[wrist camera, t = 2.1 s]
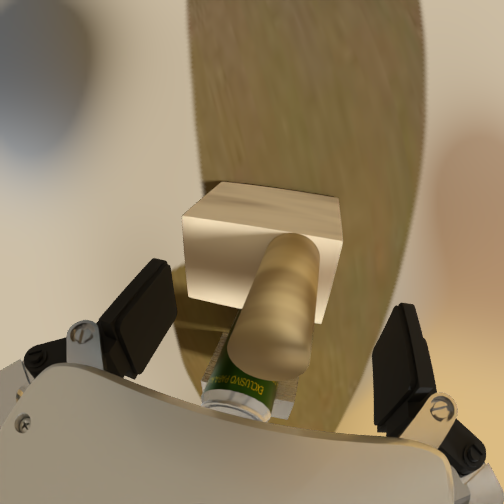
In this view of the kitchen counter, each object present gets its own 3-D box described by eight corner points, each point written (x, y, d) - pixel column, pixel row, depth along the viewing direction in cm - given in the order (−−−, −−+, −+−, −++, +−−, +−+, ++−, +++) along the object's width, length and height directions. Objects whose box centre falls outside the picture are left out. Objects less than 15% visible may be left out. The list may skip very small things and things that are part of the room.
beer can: (242, 330, 30) (204, 426, 20) (237, 290, 27) (189, 393, 17) (292, 335, 29) (268, 439, 18) (293, 295, 26) (267, 409, 16)
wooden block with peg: (324, 265, 23) (309, 420, 11) (221, 247, 25) (138, 375, 13) (338, 198, 20) (347, 341, 8) (221, 181, 22) (106, 286, 10)
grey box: (297, 369, 31) (287, 419, 25) (223, 353, 33) (204, 400, 27) (303, 348, 29) (294, 402, 23) (223, 332, 31) (201, 380, 25)
